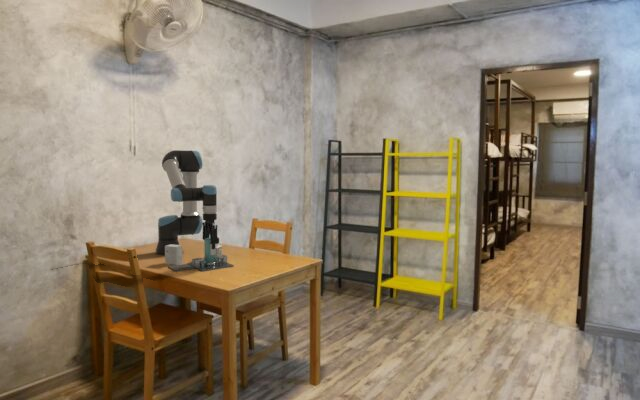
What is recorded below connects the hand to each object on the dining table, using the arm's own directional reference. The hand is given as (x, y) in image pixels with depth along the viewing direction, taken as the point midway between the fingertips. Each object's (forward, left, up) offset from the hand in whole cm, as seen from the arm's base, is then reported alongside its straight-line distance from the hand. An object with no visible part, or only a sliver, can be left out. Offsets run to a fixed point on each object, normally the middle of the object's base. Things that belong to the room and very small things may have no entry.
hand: (210, 253), depth 256 cm
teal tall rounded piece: (0, 0, -5) cm, 5 cm away
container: (-15, +10, -7) cm, 19 cm away
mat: (-4, -15, -7) cm, 17 cm away
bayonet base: (0, 0, -7) cm, 7 cm away
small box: (-17, -14, -7) cm, 23 cm away
